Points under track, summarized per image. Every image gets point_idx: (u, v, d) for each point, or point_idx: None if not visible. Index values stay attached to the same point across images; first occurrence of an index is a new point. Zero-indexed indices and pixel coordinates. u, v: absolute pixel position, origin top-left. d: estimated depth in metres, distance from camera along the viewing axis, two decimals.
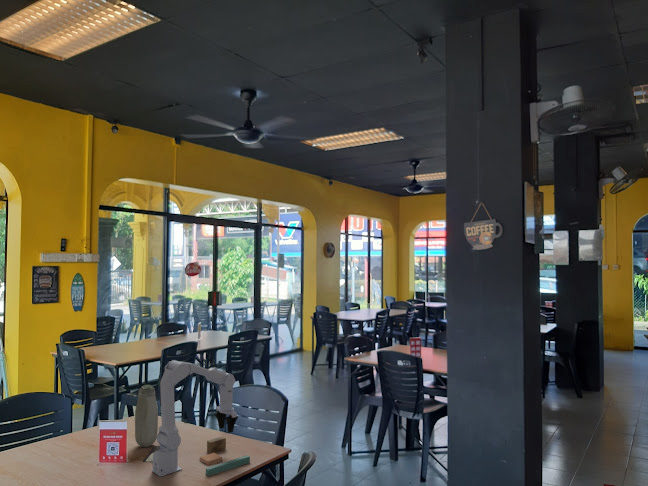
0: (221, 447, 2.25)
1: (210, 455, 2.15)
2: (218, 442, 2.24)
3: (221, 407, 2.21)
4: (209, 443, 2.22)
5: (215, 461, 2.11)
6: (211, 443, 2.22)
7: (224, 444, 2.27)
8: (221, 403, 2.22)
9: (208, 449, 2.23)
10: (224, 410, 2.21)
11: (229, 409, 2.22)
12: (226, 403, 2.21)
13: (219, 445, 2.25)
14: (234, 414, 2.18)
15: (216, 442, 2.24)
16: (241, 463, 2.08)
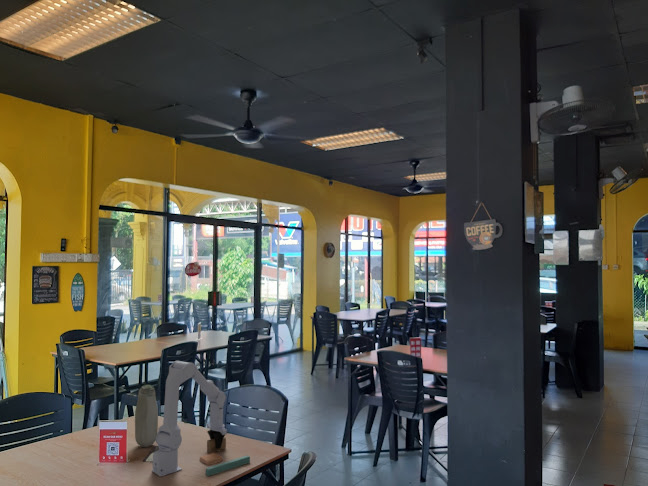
0: (221, 447, 2.25)
1: (210, 455, 2.15)
2: None
3: (211, 424, 2.24)
4: (209, 443, 2.22)
5: (215, 461, 2.11)
6: (211, 443, 2.22)
7: (224, 444, 2.27)
8: (211, 420, 2.24)
9: (208, 448, 2.23)
10: (214, 427, 2.23)
11: (219, 426, 2.24)
12: (216, 420, 2.23)
13: None
14: (224, 431, 2.20)
15: None
16: (241, 463, 2.08)
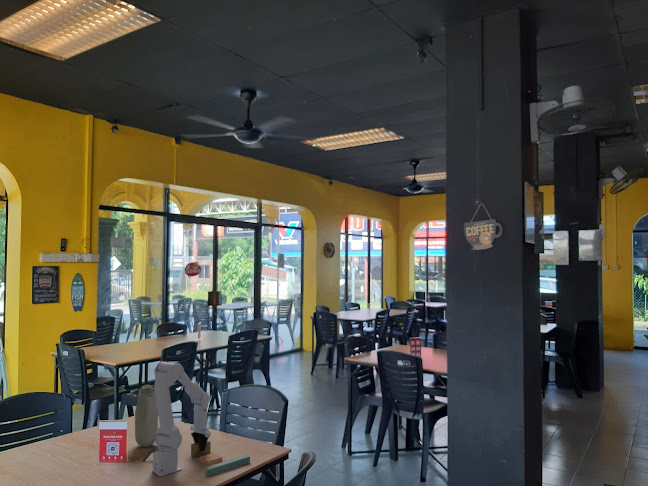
0: (205, 451, 2.20)
1: (210, 455, 2.15)
2: None
3: (195, 426, 2.19)
4: (193, 447, 2.17)
5: (215, 461, 2.11)
6: (195, 447, 2.17)
7: (209, 448, 2.22)
8: (195, 422, 2.19)
9: (192, 452, 2.18)
10: (198, 429, 2.18)
11: (203, 428, 2.19)
12: (200, 422, 2.18)
13: None
14: (208, 434, 2.15)
15: None
16: (241, 463, 2.08)
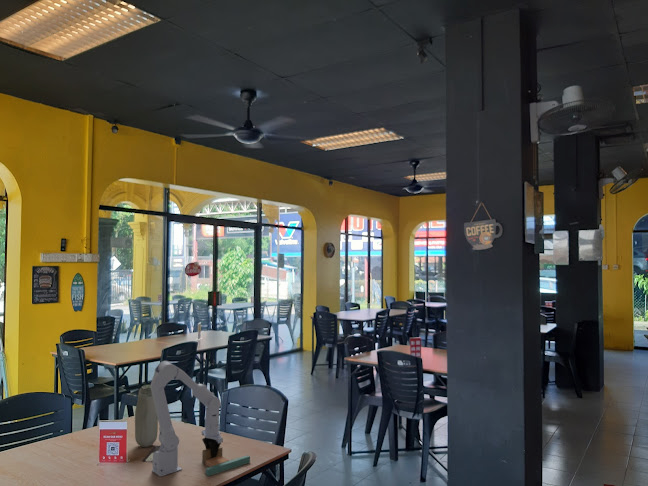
0: None
1: (217, 458, 2.11)
2: None
3: (207, 432, 2.11)
4: (204, 453, 2.10)
5: None
6: (207, 453, 2.10)
7: (220, 454, 2.14)
8: (207, 428, 2.11)
9: (203, 459, 2.10)
10: (210, 435, 2.10)
11: (215, 434, 2.11)
12: (212, 428, 2.11)
13: None
14: (220, 439, 2.08)
15: None
16: (241, 463, 2.08)
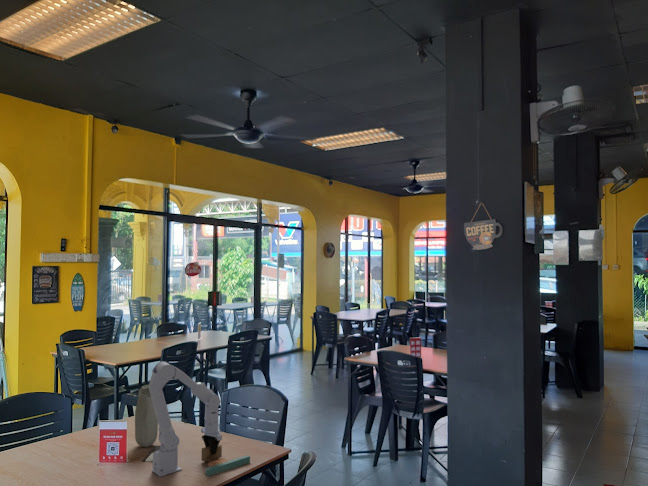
0: (216, 455, 2.13)
1: (219, 460, 2.09)
2: None
3: (206, 429, 2.12)
4: (204, 451, 2.10)
5: None
6: (206, 451, 2.10)
7: (220, 452, 2.14)
8: (206, 425, 2.12)
9: (203, 457, 2.11)
10: (209, 432, 2.11)
11: (214, 431, 2.12)
12: (211, 425, 2.11)
13: None
14: (219, 437, 2.08)
15: None
16: (241, 463, 2.08)
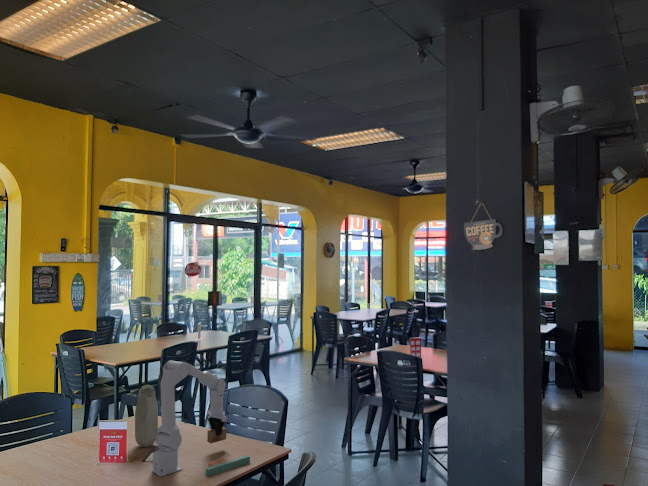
0: (221, 437, 2.26)
1: (219, 460, 2.09)
2: None
3: (211, 411, 2.24)
4: (209, 433, 2.23)
5: None
6: (211, 433, 2.23)
7: (224, 434, 2.27)
8: (211, 407, 2.24)
9: (208, 438, 2.23)
10: (214, 414, 2.23)
11: (219, 413, 2.24)
12: (216, 407, 2.24)
13: (219, 435, 2.25)
14: (224, 418, 2.21)
15: None
16: (241, 463, 2.08)
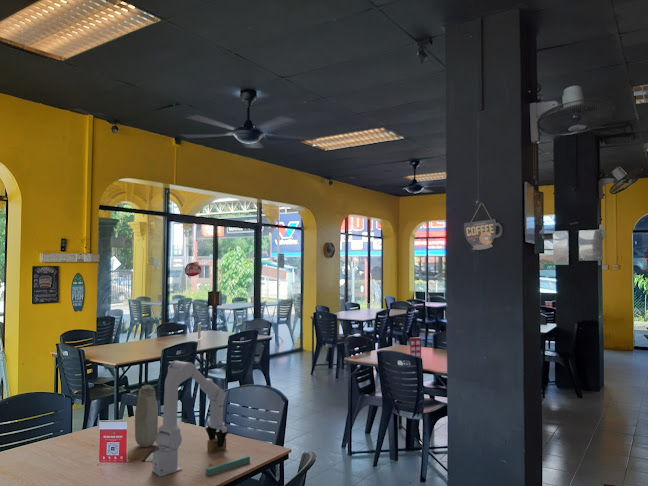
0: (221, 447, 2.26)
1: (219, 460, 2.09)
2: None
3: (211, 422, 2.24)
4: (209, 443, 2.23)
5: None
6: (211, 443, 2.22)
7: (224, 444, 2.27)
8: (211, 418, 2.24)
9: (208, 448, 2.23)
10: (214, 425, 2.23)
11: (219, 424, 2.24)
12: (216, 418, 2.23)
13: None
14: (224, 429, 2.20)
15: (216, 442, 2.24)
16: (241, 463, 2.08)
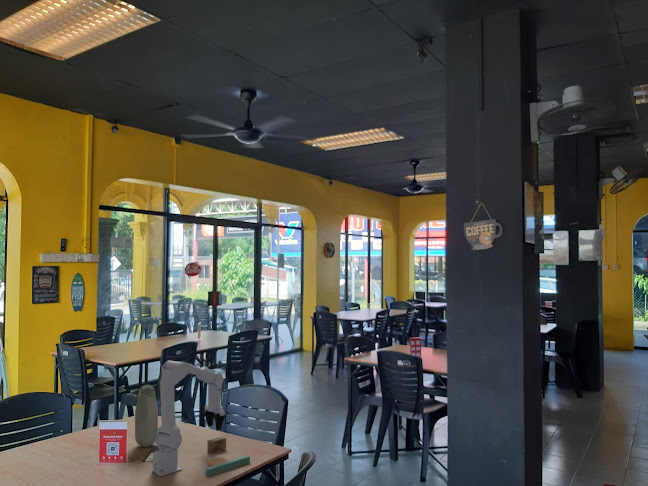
0: (221, 447, 2.26)
1: (219, 460, 2.09)
2: (218, 442, 2.25)
3: (209, 406, 2.26)
4: (209, 443, 2.23)
5: None
6: (211, 443, 2.22)
7: (224, 444, 2.27)
8: (209, 402, 2.26)
9: (208, 448, 2.23)
10: (212, 408, 2.25)
11: (217, 407, 2.26)
12: (214, 402, 2.25)
13: (219, 445, 2.25)
14: (222, 412, 2.22)
15: (216, 442, 2.24)
16: (241, 463, 2.08)
